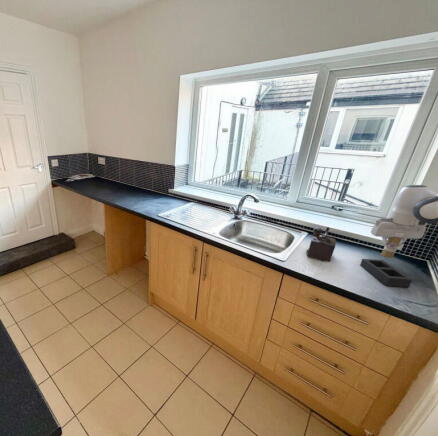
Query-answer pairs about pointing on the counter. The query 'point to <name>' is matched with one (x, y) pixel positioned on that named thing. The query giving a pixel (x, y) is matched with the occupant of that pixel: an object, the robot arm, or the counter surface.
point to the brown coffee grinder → (321, 245)
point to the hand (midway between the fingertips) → (391, 245)
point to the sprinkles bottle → (392, 245)
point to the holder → (385, 273)
